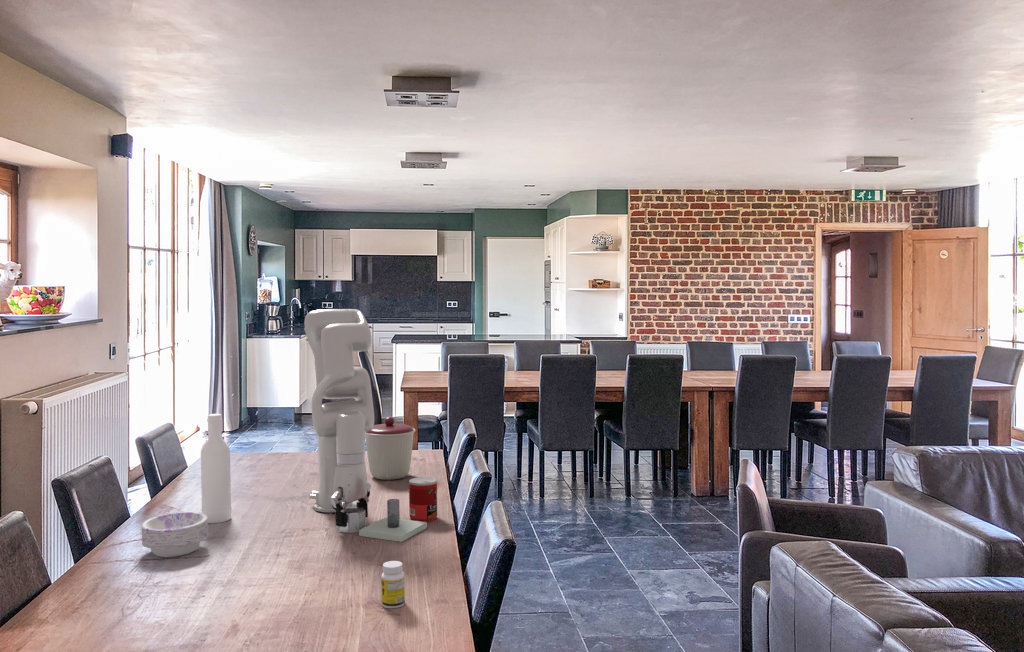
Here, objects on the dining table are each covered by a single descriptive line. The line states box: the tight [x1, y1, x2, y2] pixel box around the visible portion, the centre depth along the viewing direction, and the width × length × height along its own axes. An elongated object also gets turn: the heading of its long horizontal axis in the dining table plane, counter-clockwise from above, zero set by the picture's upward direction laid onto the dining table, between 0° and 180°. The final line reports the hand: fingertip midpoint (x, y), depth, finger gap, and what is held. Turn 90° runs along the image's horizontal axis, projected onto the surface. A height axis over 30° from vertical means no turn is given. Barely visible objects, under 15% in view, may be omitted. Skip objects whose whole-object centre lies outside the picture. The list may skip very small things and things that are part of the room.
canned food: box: [408, 476, 438, 523], centre depth 219 cm, size 8×8×11 cm
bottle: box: [200, 413, 233, 524], centre depth 218 cm, size 8×8×30 cm
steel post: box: [386, 498, 401, 528], centre depth 206 cm, size 3×3×7 cm
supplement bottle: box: [380, 560, 406, 609], centre depth 157 cm, size 5×5×8 cm
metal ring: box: [337, 506, 367, 534], centre depth 209 cm, size 7×7×5 cm
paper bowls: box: [141, 511, 209, 558], centre depth 191 cm, size 15×15×8 cm
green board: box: [358, 516, 428, 543], centre depth 206 cm, size 13×13×2 cm
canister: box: [365, 416, 416, 481], centre depth 269 cm, size 18×18×21 cm
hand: (352, 521), depth 209 cm, fingers open, 9 cm apart
